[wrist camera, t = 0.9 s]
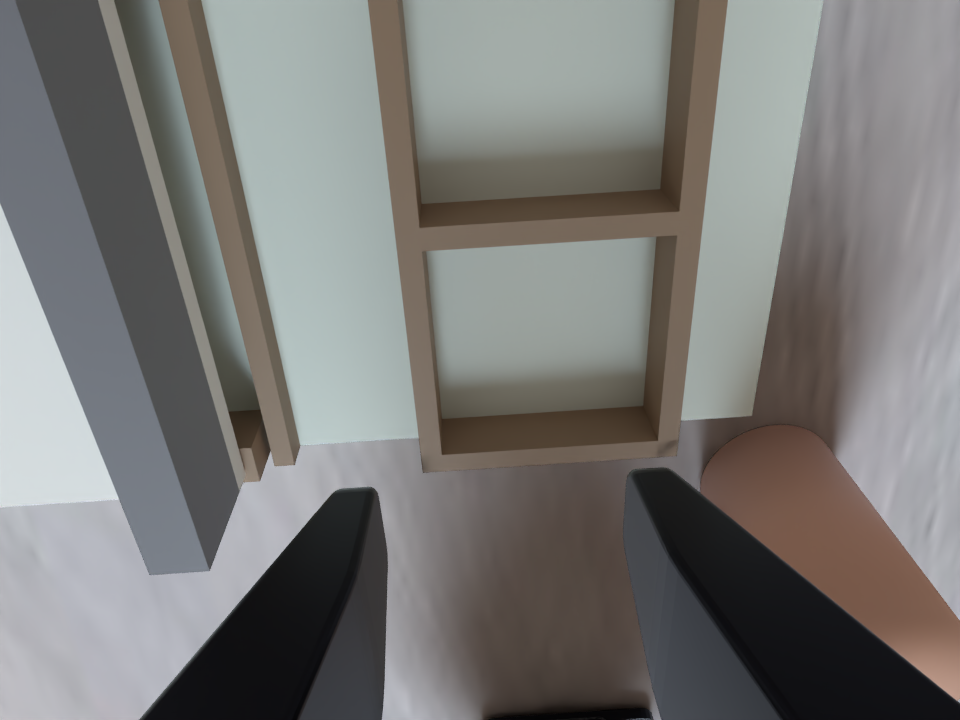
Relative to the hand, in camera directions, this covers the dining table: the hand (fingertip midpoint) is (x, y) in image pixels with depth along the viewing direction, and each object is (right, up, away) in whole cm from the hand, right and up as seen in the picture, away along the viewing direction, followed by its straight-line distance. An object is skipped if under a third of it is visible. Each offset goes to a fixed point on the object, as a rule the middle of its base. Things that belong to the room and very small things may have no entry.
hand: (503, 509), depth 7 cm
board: (-5, +5, +9) cm, 12 cm away
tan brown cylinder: (+8, -2, +14) cm, 17 cm away
